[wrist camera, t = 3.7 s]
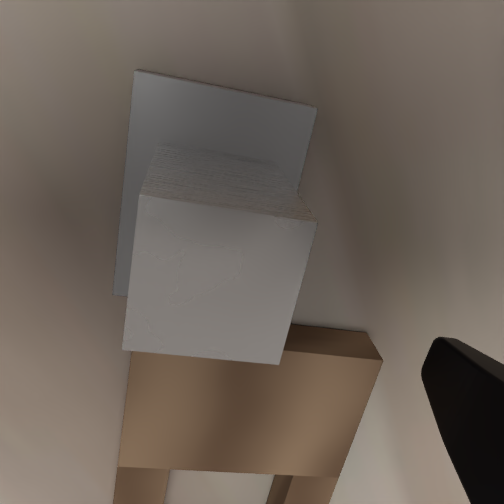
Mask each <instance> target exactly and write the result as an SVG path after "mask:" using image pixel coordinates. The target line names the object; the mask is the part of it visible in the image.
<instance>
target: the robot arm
mask: <svg viewBox="0 0 504 504" xmlns="http://www.w3.org/2000/svg"><path fill="white" fill-rule="evenodd" d="M421 376H422V381H423V384H424V387H425V390H426V393H427V396H428V399H429V402H430V405H431V408H432V411H433V414H434V417H435V420H436V422H437V425H438V428H439V431H440V434H441V437H442V440H443V442H444V445H445V447H446V449H447V452H448V454H449V456H450V459H451V461H452V463H453V465H454V468H455V470H456V472H457V474H458V476H459V479H460V481H461V483H462V485H463V488H464V490H465V492H466V494H467V496H468V499H469V501H470V503H471V504H504V364H502V363H500V362H498V361H496V360H494V359H493V358H491V357H489V356H487V355H485V354H483V353H482V352H480V351H478V350H476V349H474V348H472V347H471V346H469V345H467V344H465V343H463V342H461V341H459V340H457V339H454V338H447V337H438V338H436V339H435V340H434V341H433V343H432V345H431V347H430V350H429V352H428V354H427V357H426V359H425V361H424V364H423V366H422V370H421Z"/></svg>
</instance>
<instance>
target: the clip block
mask: <svg viewBox="0 0 504 504" xmlns="http://www.w3.org/2000/svg"><path fill="white" fill-rule="evenodd" d="M317 225H318V222H317V221H316V219H315V218H314V216H313V215H312V213H311V212H310V211H309V209H308V208H307V206H306V205H305V203H304V202H303V201H302V199H301V198H300V196H299V195H298V193H297V192H296V190H295V189H294V188H293V186H292V185H291V183H290V182H289V180H288V179H287V178H286V176H285V175H284V173H283V172H282V170H281V169H280V167H279V166H278V165H277V163H276V162H273V161H267V160H261V159H256V158H250V157H245V156H239V155H234V154H228V153H223V152H217V151H212V150H206V149H201V148H195V147H190V146H184V145H179V144H173V143H168V142H162V141H159V142H158V145H157V148H156V150H155V153H154V156H153V159H152V161H151V164H150V167H149V169H148V172H147V175H146V178H145V180H144V183H143V186H142V188H141V191H140V194H139V201H138V210H137V219H136V228H135V237H134V245H133V254H132V263H131V272H130V281H129V290H128V299H127V308H126V317H125V326H124V335H123V343H122V350H128V351H139V352H149V353H159V354H170V355H180V356H191V357H201V358H211V359H222V360H232V361H243V362H253V363H263V364H274V365H279V363H280V359H281V356H282V352H283V349H284V345H285V341H286V338H287V334H288V330H289V327H290V323H291V320H292V316H293V312H294V309H295V305H296V301H297V298H298V294H299V291H300V287H301V283H302V280H303V276H304V273H305V269H306V265H307V262H308V258H309V254H310V251H311V247H312V244H313V240H314V236H315V233H316V229H317Z"/></svg>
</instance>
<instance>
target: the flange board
mask: <svg viewBox="0 0 504 504" xmlns="http://www.w3.org/2000/svg"><path fill="white" fill-rule="evenodd" d="M382 363H383V359H382V357H381V356H380V354H379V352H378V351H377V349H376V347H375V346H374V344H373V342H372V341H371V339H370V337H369V336H368V334H367V333H364V332H355V331H346V330H337V329H329V328H320V327H311V326H302V325H293V324H290V327H289V330H288V334H287V338H286V341H285V345H284V349H283V352H282V356H281V359H280V363H279V365H274V364H263V363H253V362H243V361H232V360H222V359H211V358H201V357H191V356H180V355H170V354H159V353H149V352H139V351H132V353H131V361H130V369H129V377H128V386H127V394H126V402H125V410H124V418H123V426H122V435H121V443H120V451H119V459H118V467H117V475H116V483H115V492H114V500H113V504H163V503H164V498H165V492H166V487H167V481H168V476H169V471H170V469H176V470H195V471H215V472H235V473H255V474H275V477H274V480H273V483H272V487H271V490H270V493H269V497H268V500H267V503H266V504H329V502H330V499H331V497H332V494H333V491H334V489H335V486H336V483H337V481H338V478H339V476H340V473H341V470H342V468H343V465H344V462H345V460H346V457H347V455H348V452H349V449H350V447H351V444H352V442H353V439H354V436H355V434H356V431H357V428H358V426H359V423H360V421H361V418H362V415H363V413H364V410H365V408H366V405H367V402H368V400H369V397H370V394H371V392H372V389H373V387H374V384H375V381H376V379H377V376H378V373H379V371H380V368H381V366H382Z"/></svg>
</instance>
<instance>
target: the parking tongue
mask: <svg viewBox="0 0 504 504" xmlns="http://www.w3.org/2000/svg"><path fill="white" fill-rule="evenodd" d="M317 110H318V109H317V108H316V107H314V106H312V105H308V104H303V103H298V102H293V101H289V100H284V99H279V98H274V97H269V96H265V95H260V94H255V93H250V92H245V91H240V90H236V89H231V88H226V87H221V86H216V85H212V84H207V83H202V82H197V81H192V80H188V79H183V78H178V77H173V76H168V75H163V74H159V73H154V72H149V71H144V70H139V69H137V70H135V71H134V79H133V89H132V99H131V110H130V120H129V130H128V140H127V151H126V161H125V171H124V181H123V192H122V202H121V212H120V222H119V233H118V243H117V253H116V263H115V274H114V284H113V294H112V295H118V296H127V297H128V290H129V281H130V272H131V263H132V254H133V245H134V237H135V228H136V219H137V210H138V201H139V194H140V191H141V188H142V186H143V183H144V180H145V178H146V175H147V172H148V169H149V167H150V164H151V161H152V159H153V156H154V153H155V150H156V148H157V145H158V142H159V141H162V142H168V143H173V144H179V145H184V146H190V147H195V148H201V149H206V150H212V151H217V152H223V153H228V154H234V155H239V156H245V157H250V158H256V159H261V160H267V161H273V162H276V163H277V165H278V166H279V167H280V169H281V170H282V172H283V173H284V175H285V176H286V178H287V179H288V180H289V182H290V183H291V185H292V186H293V188H294V189H295V190H296V192H297V190H298V186H299V182H300V178H301V174H302V170H303V166H304V162H305V158H306V154H307V150H308V146H309V142H310V138H311V134H312V130H313V126H314V122H315V118H316V114H317Z"/></svg>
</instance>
